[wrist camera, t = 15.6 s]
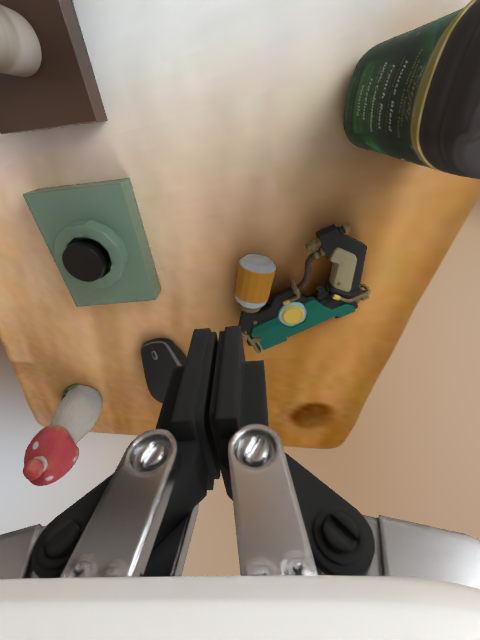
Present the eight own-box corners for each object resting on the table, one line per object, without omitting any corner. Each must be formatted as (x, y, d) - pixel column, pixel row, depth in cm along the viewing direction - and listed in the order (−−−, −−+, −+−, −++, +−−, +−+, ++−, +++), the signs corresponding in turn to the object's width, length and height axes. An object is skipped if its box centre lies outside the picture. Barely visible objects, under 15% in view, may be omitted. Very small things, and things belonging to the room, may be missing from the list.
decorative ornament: (75, 372, 47) (13, 464, 34) (115, 390, 49) (69, 483, 36) (56, 404, 51) (-5, 496, 38) (94, 419, 53) (46, 512, 41)
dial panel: (-57, -37, 23) (-88, -53, 21) (55, -58, 22) (35, -76, 20) (18, 132, 29) (0, 134, 27) (107, 120, 28) (96, 120, 26)
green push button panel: (38, 188, 32) (10, 198, 28) (129, 178, 31) (113, 186, 27) (86, 295, 39) (69, 314, 35) (161, 289, 38) (152, 308, 34)
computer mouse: (176, 332, 42) (170, 351, 39) (206, 391, 48) (203, 411, 45) (131, 343, 43) (121, 361, 40) (166, 399, 50) (160, 419, 46)
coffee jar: (333, 150, 29) (430, 187, 14) (354, 39, 25) (531, -87, 9) (433, 155, 29) (639, 197, 14) (471, 46, 25) (839, -70, 9)
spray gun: (362, 211, 33) (361, 319, 42) (215, 245, 34) (243, 343, 43) (379, 223, 29) (373, 339, 38) (214, 261, 31) (245, 364, 40)
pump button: (63, 240, 31) (54, 246, 29) (101, 236, 30) (94, 242, 29) (79, 276, 33) (71, 283, 31) (114, 273, 32) (108, 280, 31)
